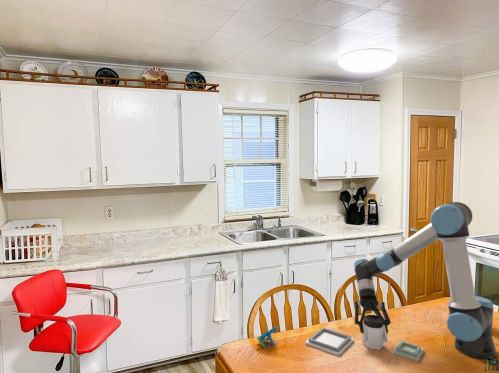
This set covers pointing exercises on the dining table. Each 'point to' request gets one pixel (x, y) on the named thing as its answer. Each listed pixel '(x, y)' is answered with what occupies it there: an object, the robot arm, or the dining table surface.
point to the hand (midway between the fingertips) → (375, 340)
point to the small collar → (408, 350)
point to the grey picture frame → (330, 341)
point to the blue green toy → (267, 336)
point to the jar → (374, 332)
